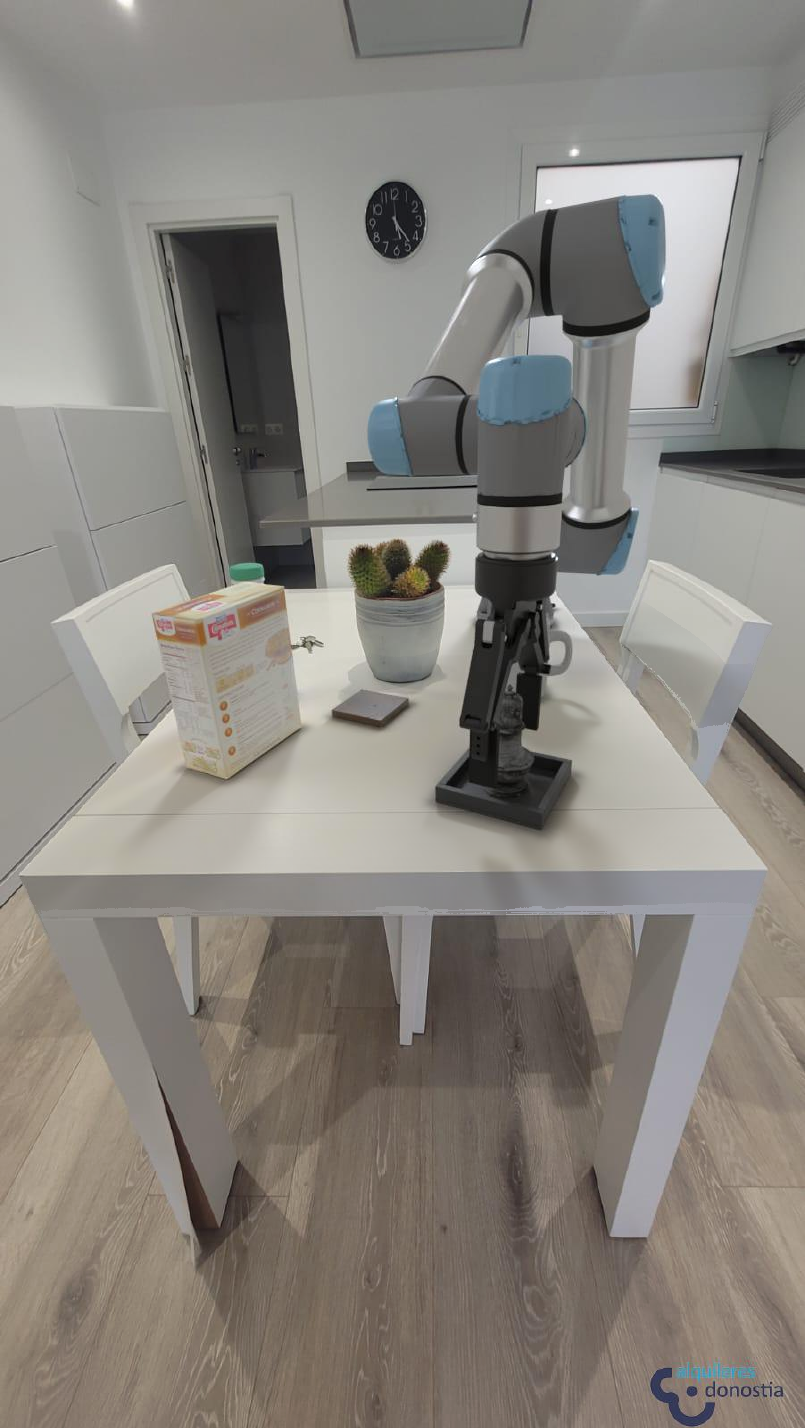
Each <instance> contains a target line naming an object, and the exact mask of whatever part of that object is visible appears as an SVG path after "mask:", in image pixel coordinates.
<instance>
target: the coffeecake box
mask: <svg viewBox="0 0 805 1428" xmlns="http://www.w3.org/2000/svg"><path fill="white" fill-rule="evenodd" d="M150 615H151V618H152V622H153V627H154V631H155V636H156V639H157V644H158V648H159V652H160V657H161V662H162V665H163V666H162V667H163V670H164V675H165V680H166V683H167V687H168V692H169V696H170V700H171V705H172V710H173V714H174V719H175V722H176V727H177V731H178V736H179V741H180V745H181V749H182V754H183V757H184V758H183V759H184V762H185V767H186V768H187V769H189V770H194V771H197V772H200V773H205V774H209V775H211V776H215V777H218V778H221V779H224V780H229V779H230V778H231V777H232V776H234V775H236V774H237V773H238V772H240V771H241V770H243V769H244V768H245V767H246V766H249V764H251V763H252V762H254V761H255V760H257V759H258V758H260V757H261V756H262V755H264V754H265V753H266V752H268V751H269V750H271V749H272V748H274V747H275V746H276V745H278V744H279V743H281V742H282V741H284V740H285V739H287V738H288V737H289V736H291V735H292V734H294V733H295V732H297V731H299V729H301V728H302V727H303V726H302V719H301V710H300V704H299V703H300V702H299V695H298V688H297V679H296V671H295V664H294V663H295V662H294V655H293V650H292V640H291V632H290V624H289V615H288V609H287V600H286V592H285V586H284V585H277V584H276V585H275V584H274V585H273V584H265V583H264V584H260V583H256V582H241V583H238V584H235V585H233V584H232V585H230V586H227V587H225V588H221V589H218V590H215V591H213V592H209V593H207V594H204V595H201V596H198V597H195V598H192V599H189V600H186V601H183V602H181V603H178V604H175V605H171V606H168V607H166V608H163V609H159V610H157V611H154V612H151V614H150Z"/></svg>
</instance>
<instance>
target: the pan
mask: <svg viewBox="0 0 805 1428" xmlns="http://www.w3.org/2000/svg"><path fill="white" fill-rule="evenodd" d="M469 751H470V747H468V748H467V750H465V752H464V753H463V754H462V755H461V757H459V759H458V760H457V761H456V762H455V763H454V765H453V766H451V768H450V769H449V770H448V771H447V772H446V773H445V775H444V776H443V777H442V778H441V779H440V781H438V783H437V784H436V785H435V787H434V790H435V791H434V793H435V794H434V795H435V798H434V799H435V801H434V802H436V803H439V804H442V805H443V804H444V805H447V806H451V807H453V808H454V807H455V808H458V809H462V810H466V811H468V812H469V811H470V812H473V813H477V814H480V815H484V816H488V817H491V818H495V819H499V820H503V821H507V822H510V823H513V824H518V825H521V826H525V827H528V828H532V829H536V830H539V831H541V830H543V827H544V825H545V824H546V821H547V820H548V819H549V816H550V814H551V812H552V811H553V808H554V807H555V805H556V803H557V801H558V799H559V798H560V796H561V793H563V792H562V791H563V790H564V788H565V786H566V784H567V782H568V781H569V778H570V776H571V775H572V766H573V765H572V764H573V760H572V759H568V758H564V757H560V756H554V755H550V754H545V753H540V752H536V751H531V752H532V754H533V755H534V762H533V764H532V765H531V767H530V770H529V772H528V773H527V775H526V776H525V778H526V779H527V780H528V781H529V785H530V787H529V790H528V791H527V792H526V793H525V794H523V795H521V796H518V797H512V798H503V797H497V796H494V795H491V794H489V793H487V792H486V791H485V790H484V789H483V788H482V786H481V785H477V784H473V783H469Z"/></svg>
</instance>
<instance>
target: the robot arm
mask: <svg viewBox="0 0 805 1428" xmlns="http://www.w3.org/2000/svg"><path fill="white" fill-rule="evenodd" d="M666 239H667V238H666V217H665V209H664V205H663V202H662V200H661V199H660V198H659V197H658V196H657V195H656V194H650V193H647V194H635V195H633V194H632V195H626V194H623V195H619V196H613V197H609V198H604V199H598V200H593V201H588V202H583V203H578V204H572V205H567V206H563V207H558V208H552V209H551V208H548V209H543V210H538V211H535V212H533V213H530V214H527V215H526V216H524V217H522V218H520V219H518V220H516V221H515V222H514V223H512V224H511V225H509V226H508V227H507V228H505V229H504V230H502V231H501V232H500V233H499V234H497V235H496V236H495V237H494V238H493V239H492V240H491V241H490V242H489V243H487V245H486V246H485V247H484V248H483V249H482V250H481V251H480V252H479V253H478V255H477V256H476V258H474V259H473V262H472V263H471V265H470V266H469V268H468V270H467V271H466V273H465V275H464V277H463V280H462V284H461V288H460V289H461V290H460V300H459V302H458V304H457V306H456V308H455V310H454V311H453V313H452V315H451V317H450V318H449V320H448V322H447V324H446V326H445V328H444V329H443V331H442V333H441V335H440V337H439V338H438V340H437V342H436V343H435V346H434V347H433V349H432V351H431V353H430V354H429V356H428V358H427V360H426V361H425V363H424V365H423V367H422V369H421V371H420V372H419V374H418V376H417V378H416V379H415V381H414V383H413V385H412V387H411V388H410V390H409V391H408V393H407V395H406V397H404V398H399V397H398V396H394V397H393V398H391V399H383V400H380V401H379V402H376V403H375V404H374V406H373V407H372V409H371V410H370V414H369V417H368V420H367V421H368V422H367V431H366V433H367V436H366V437H367V446H368V450H369V453H370V456H371V460H372V462H373V465H374V466H375V467H376V468H377V470H379V472H381V473H383V474H387V475H400V476H409V477H414V476H453V475H454V476H457V475H461V476H462V475H469V476H470V475H472V476H473V475H474V476H476V477H477V480H476V481H477V484H476V512H474V513H473V514H472V519H471V520H472V522H473V523H475V524H476V532H475V533H476V538H475V539H476V540H475V541H476V542H475V546H476V548H477V549H478V550H480V552H479V553H478V554H477V555H476V556H475V558H474V561H475V562H474V590H475V593H476V594H477V595H478V596H479V597H481V599H480V602H479V604H478V607H477V610H476V621H475V625H474V639H473V648H472V654H471V660H470V665H469V669H468V674H467V680H466V686H465V691H464V696H463V701H462V707H461V711H460V716H459V718H458V719H459V721H458V726H459V728H460V729H464V730H469V748H470V751H469V783H473V784H477V785H481V786H485V787H489V788H493V789H495V788H496V787H497V784H498V762H499V739H500V726H499V725H496V723H497V719H498V715H499V712H500V708H501V704H502V700H503V697H504V693H505V689H506V686H507V682H508V678H509V675H510V671H511V667H512V665H513V664H515V663H517V662H518V664H519V667H520V670H521V671H524V673H518V674H517V680H516V693H518V694H519V695H520V696H521V697H522V699H523V711H522V721H523V722H524V723H525V729H524V730H530V731H534V732H538V730H539V728H540V727H539V725H540V714H541V700H542V698H541V688H542V676H539V673H540V674H546V675H549V674H550V671H551V665H552V664H550V665H548V664H549V661H550V645H548V633H547V621H546V618H547V619H548V620H549V621H550V627H551V626H552V625H553V624H554V615H555V613H554V608H556V603H554V602H552V601H551V596H553V595H554V593H555V592H556V588H557V576H558V573H564V574H565V573H566V574H583V575H586V574H587V575H596V576H602V575H606V576H607V575H609V576H614V575H615V576H616V575H619V574H620V573H622V572H624V570H625V568H626V565H627V562H628V558H629V556H630V551H631V548H632V544H633V540H634V536H635V531H636V528H637V524H638V520H639V516H640V515H639V514H640V510H639V509H638V508H636V507H633V506H632V499H631V497H630V495H629V494H628V493H627V492H626V491H625V490H624V482H625V481H624V480H625V469H626V457H627V447H628V435H629V422H630V412H631V402H632V401H631V399H632V389H633V376H634V367H635V366H634V365H635V356H636V343H637V336H638V335H639V334H638V333H640V332H641V331H642V329H643V328H644V327H646V325H647V324H648V323H649V321H650V319H651V310H652V309H653V308H655V307H657V306H659V305H661V304H662V302H663V300H664V295H665V286H666V284H665V282H666V281H665V280H666V264H667V262H666V260H667V258H666V256H667V254H666V253H667V248H666V247H667V240H666ZM554 316H556V317H557V316H561V319H562V321H561V322H562V330H561V331H562V334H563V335H564V336H565V337H567V339H569V341H571V342H572V363H571V361H570V359H569V358H567V357H566V356H563V355H559V354H522V355H512V356H511V355H510V356H506V357H505V356H504V357H501V356H502V354H503V352H504V350H505V347H506V345H507V342H508V341H509V338H510V336H511V333H513V332H514V331H516V330H518V329H519V328H520V326H521V325H522V324H523V323H524V322H525V321H526V320H528V319H534V318H541V317H554ZM568 467H570V475H569V476H570V478H569V479H570V480H569V481H570V482H569V493H568V494H567V495H566V496H564V495H563V494H564V493H563V489H564V482H565V481H564V479H565V469H567V468H568ZM563 496H564V497H563ZM544 663H548V664H544Z"/></svg>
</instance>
